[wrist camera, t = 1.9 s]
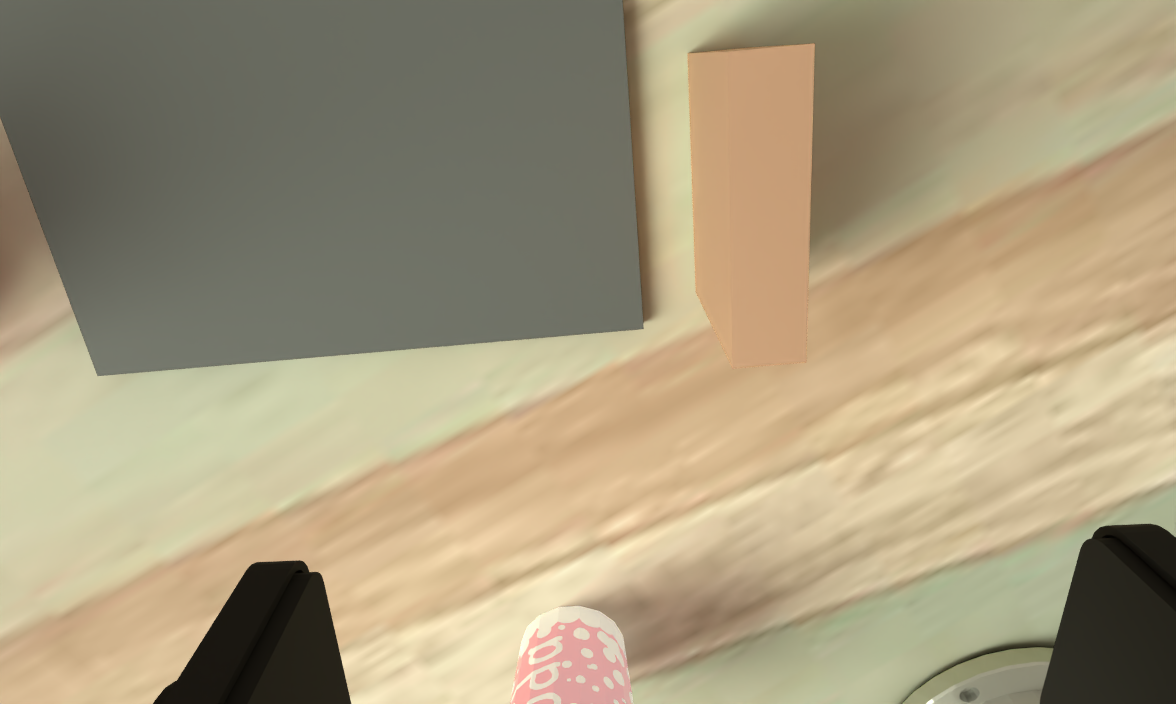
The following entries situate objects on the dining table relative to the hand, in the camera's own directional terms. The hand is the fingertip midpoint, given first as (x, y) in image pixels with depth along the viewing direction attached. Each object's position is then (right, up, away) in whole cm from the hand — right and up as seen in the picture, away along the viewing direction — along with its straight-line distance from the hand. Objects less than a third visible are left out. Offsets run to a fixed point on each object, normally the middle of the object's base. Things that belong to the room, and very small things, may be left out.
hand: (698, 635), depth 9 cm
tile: (+3, +9, +16) cm, 19 cm away
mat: (-10, +10, +15) cm, 21 cm away
